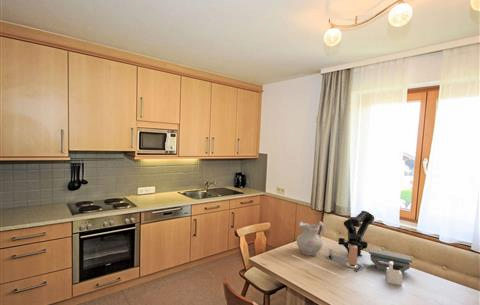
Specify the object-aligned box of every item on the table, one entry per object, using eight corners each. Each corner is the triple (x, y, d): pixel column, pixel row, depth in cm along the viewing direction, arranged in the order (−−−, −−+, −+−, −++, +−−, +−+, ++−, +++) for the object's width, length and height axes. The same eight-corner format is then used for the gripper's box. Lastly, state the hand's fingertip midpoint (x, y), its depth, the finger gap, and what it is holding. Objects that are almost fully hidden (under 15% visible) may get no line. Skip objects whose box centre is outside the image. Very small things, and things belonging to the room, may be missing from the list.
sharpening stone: (409, 271, 168) (410, 256, 168) (411, 276, 161) (412, 260, 161) (368, 262, 179) (369, 247, 179) (368, 266, 172) (369, 251, 172)
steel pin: (329, 255, 186) (330, 247, 185) (332, 257, 184) (333, 248, 184) (328, 256, 184) (328, 248, 184) (331, 257, 182) (331, 249, 182)
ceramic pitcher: (311, 247, 204) (310, 217, 206) (330, 255, 188) (329, 222, 189) (291, 252, 193) (291, 220, 195) (310, 260, 177) (309, 225, 178)
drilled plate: (332, 255, 189) (332, 253, 189) (363, 266, 172) (363, 265, 172) (324, 259, 181) (324, 257, 181) (356, 271, 164) (356, 270, 164)
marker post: (348, 261, 175) (349, 244, 175) (355, 262, 174) (356, 245, 173) (348, 264, 170) (349, 247, 170) (356, 265, 169) (357, 248, 169)
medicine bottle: (398, 280, 156) (399, 261, 156) (401, 285, 149) (403, 266, 149) (385, 277, 158) (386, 259, 158) (388, 283, 152) (389, 264, 151)
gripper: (339, 226, 178) (339, 247, 168) (367, 230, 172) (369, 252, 162) (338, 233, 186) (338, 254, 176) (365, 237, 180) (367, 259, 170)
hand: (353, 254), depth 171 cm, fingers closed on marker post, 5 cm apart
